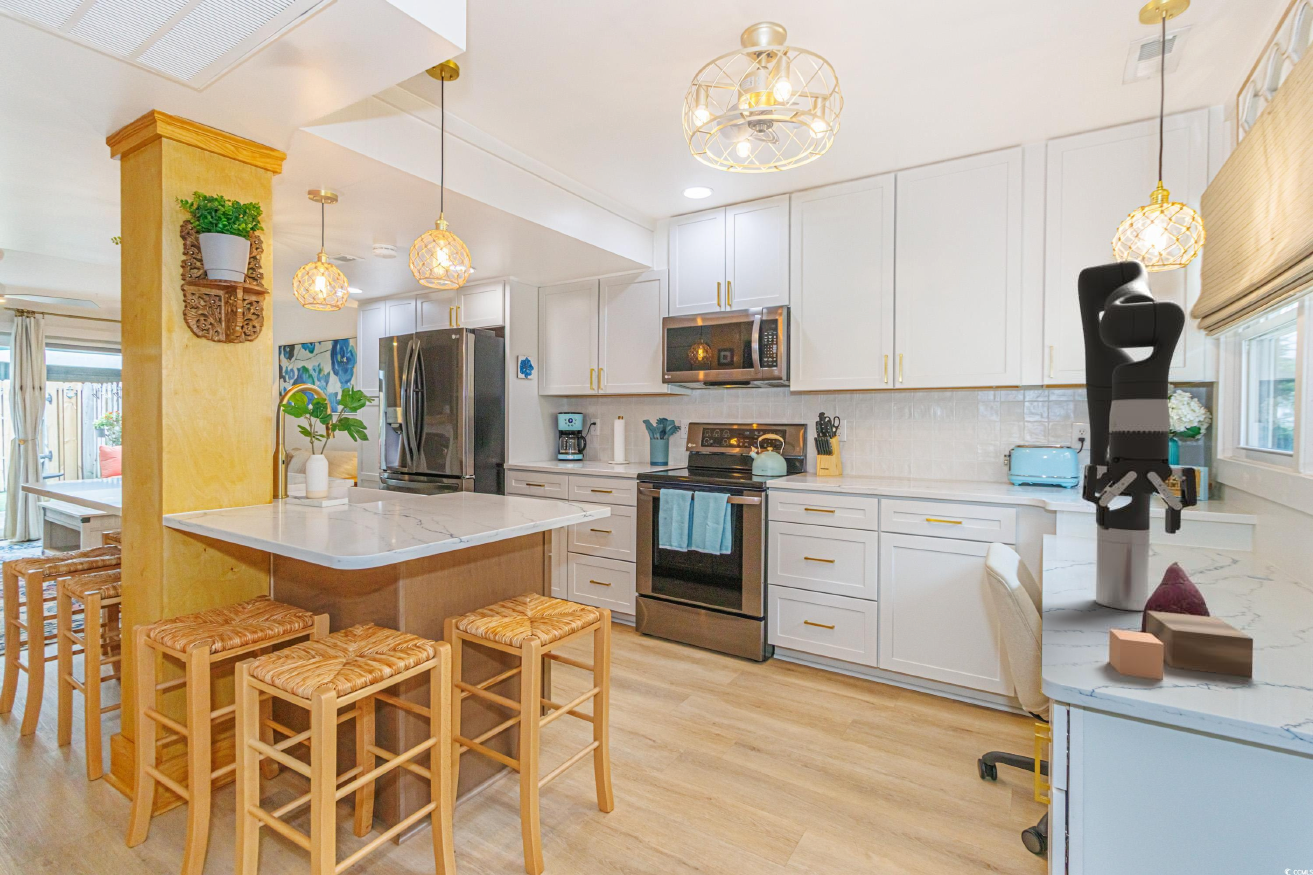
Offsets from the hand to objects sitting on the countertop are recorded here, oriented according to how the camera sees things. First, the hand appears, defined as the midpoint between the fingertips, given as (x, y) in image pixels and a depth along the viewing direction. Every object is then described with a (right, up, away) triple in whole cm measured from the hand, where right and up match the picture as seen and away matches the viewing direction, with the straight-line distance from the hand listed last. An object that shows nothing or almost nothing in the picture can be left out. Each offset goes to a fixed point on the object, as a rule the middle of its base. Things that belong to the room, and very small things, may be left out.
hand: (1136, 531), depth 98 cm
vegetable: (+21, -23, +17) cm, 35 cm away
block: (0, -22, 0) cm, 22 cm away
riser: (+14, -22, +5) cm, 27 cm away
